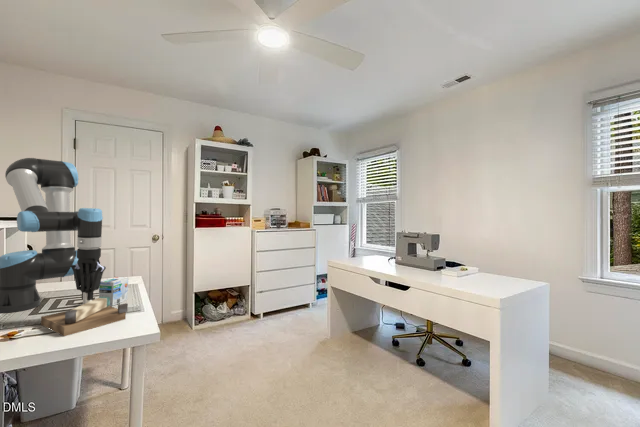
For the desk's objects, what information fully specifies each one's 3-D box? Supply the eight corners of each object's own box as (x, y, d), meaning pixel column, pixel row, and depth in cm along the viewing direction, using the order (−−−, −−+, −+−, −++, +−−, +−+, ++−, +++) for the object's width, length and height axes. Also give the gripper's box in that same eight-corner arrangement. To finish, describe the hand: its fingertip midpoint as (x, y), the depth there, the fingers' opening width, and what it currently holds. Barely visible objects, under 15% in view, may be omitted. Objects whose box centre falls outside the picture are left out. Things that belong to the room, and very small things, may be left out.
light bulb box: (112, 306, 136) (113, 282, 136) (97, 305, 136) (98, 281, 136) (128, 299, 146) (129, 276, 146) (114, 298, 147) (115, 276, 147)
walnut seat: (40, 324, 113) (41, 308, 113) (102, 310, 131) (103, 295, 131) (64, 336, 104) (65, 318, 104) (127, 318, 122) (127, 303, 122)
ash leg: (72, 323, 107) (72, 312, 107) (62, 323, 107) (62, 312, 106) (109, 305, 127) (109, 296, 127) (100, 305, 127) (101, 295, 127)
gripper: (65, 248, 117) (63, 309, 117) (96, 250, 115) (93, 312, 116) (82, 245, 124) (80, 303, 125) (111, 247, 123) (109, 306, 123)
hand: (87, 308), depth 120 cm, fingers closed
